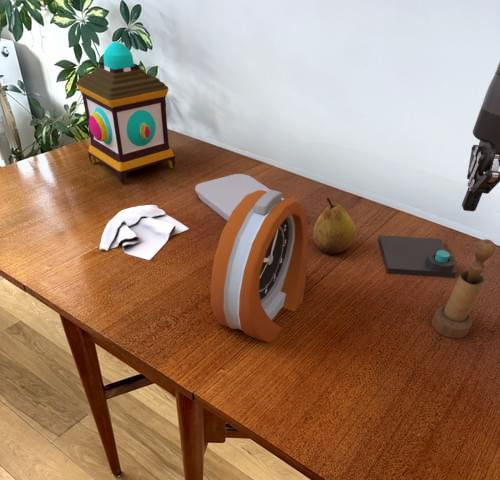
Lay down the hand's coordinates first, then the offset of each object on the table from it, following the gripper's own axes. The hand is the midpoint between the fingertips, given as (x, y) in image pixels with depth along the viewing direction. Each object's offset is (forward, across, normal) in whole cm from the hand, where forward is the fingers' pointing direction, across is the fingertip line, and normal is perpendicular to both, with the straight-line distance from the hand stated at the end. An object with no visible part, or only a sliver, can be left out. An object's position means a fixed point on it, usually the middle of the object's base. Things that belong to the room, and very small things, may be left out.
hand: (467, 208), depth 84 cm
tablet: (+16, +22, +44) cm, 52 cm away
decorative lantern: (+16, +38, +79) cm, 89 cm away
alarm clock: (+16, -17, +34) cm, 41 cm away
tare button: (+14, +4, 0) cm, 14 cm away
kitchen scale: (+16, +8, +4) cm, 18 cm away
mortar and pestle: (+16, -14, 0) cm, 22 cm away
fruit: (+16, +8, +22) cm, 29 cm away
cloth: (+16, +4, +65) cm, 68 cm away
